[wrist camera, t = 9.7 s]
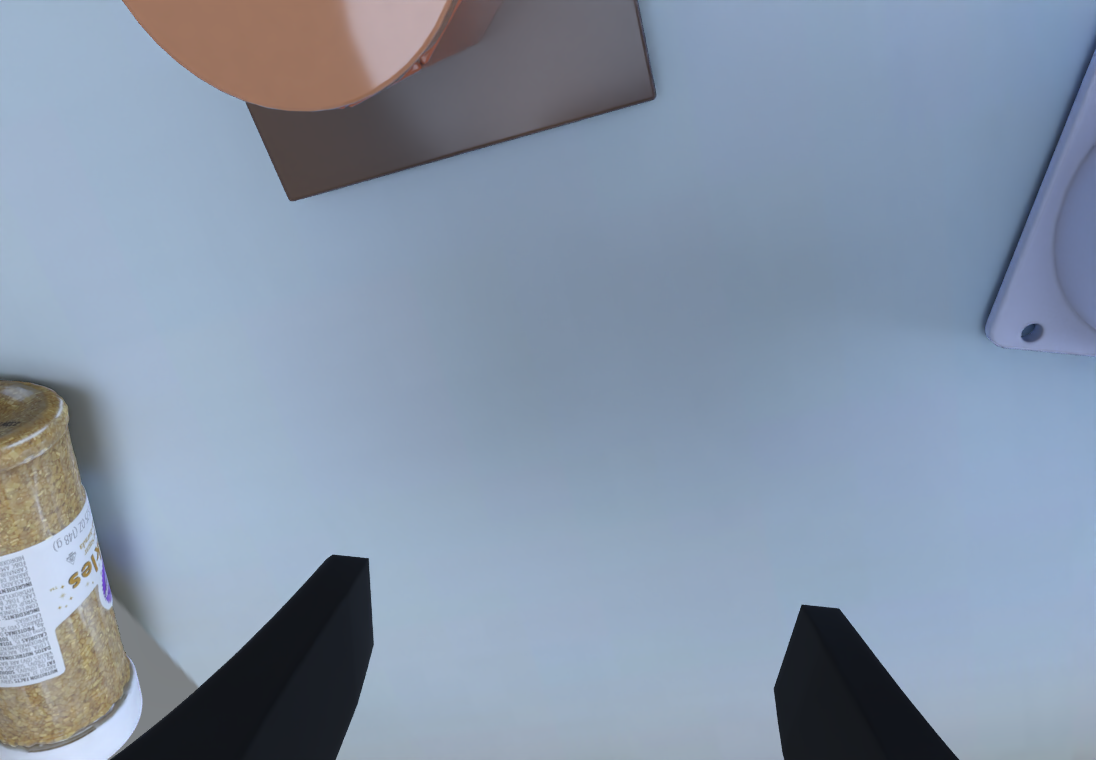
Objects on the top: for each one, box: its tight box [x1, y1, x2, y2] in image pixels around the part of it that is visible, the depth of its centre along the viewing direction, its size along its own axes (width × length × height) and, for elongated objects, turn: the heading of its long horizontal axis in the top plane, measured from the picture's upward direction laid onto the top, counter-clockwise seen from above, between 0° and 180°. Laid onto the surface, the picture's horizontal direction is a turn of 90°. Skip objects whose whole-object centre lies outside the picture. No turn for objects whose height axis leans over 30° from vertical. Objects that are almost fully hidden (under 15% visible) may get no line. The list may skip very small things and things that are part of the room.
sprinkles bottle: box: [0, 380, 143, 760], centre depth 23 cm, size 5×5×14 cm
